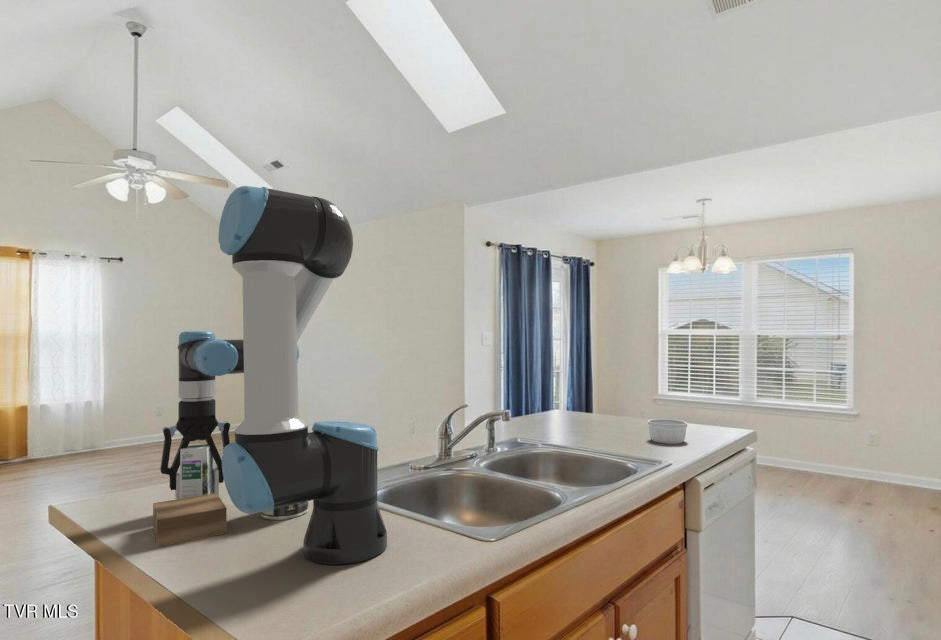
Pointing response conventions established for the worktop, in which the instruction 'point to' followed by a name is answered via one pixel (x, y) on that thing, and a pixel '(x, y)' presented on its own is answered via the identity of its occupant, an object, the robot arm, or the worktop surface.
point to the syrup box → (196, 471)
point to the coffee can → (286, 512)
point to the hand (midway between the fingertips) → (197, 500)
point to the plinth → (188, 519)
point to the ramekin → (667, 430)
